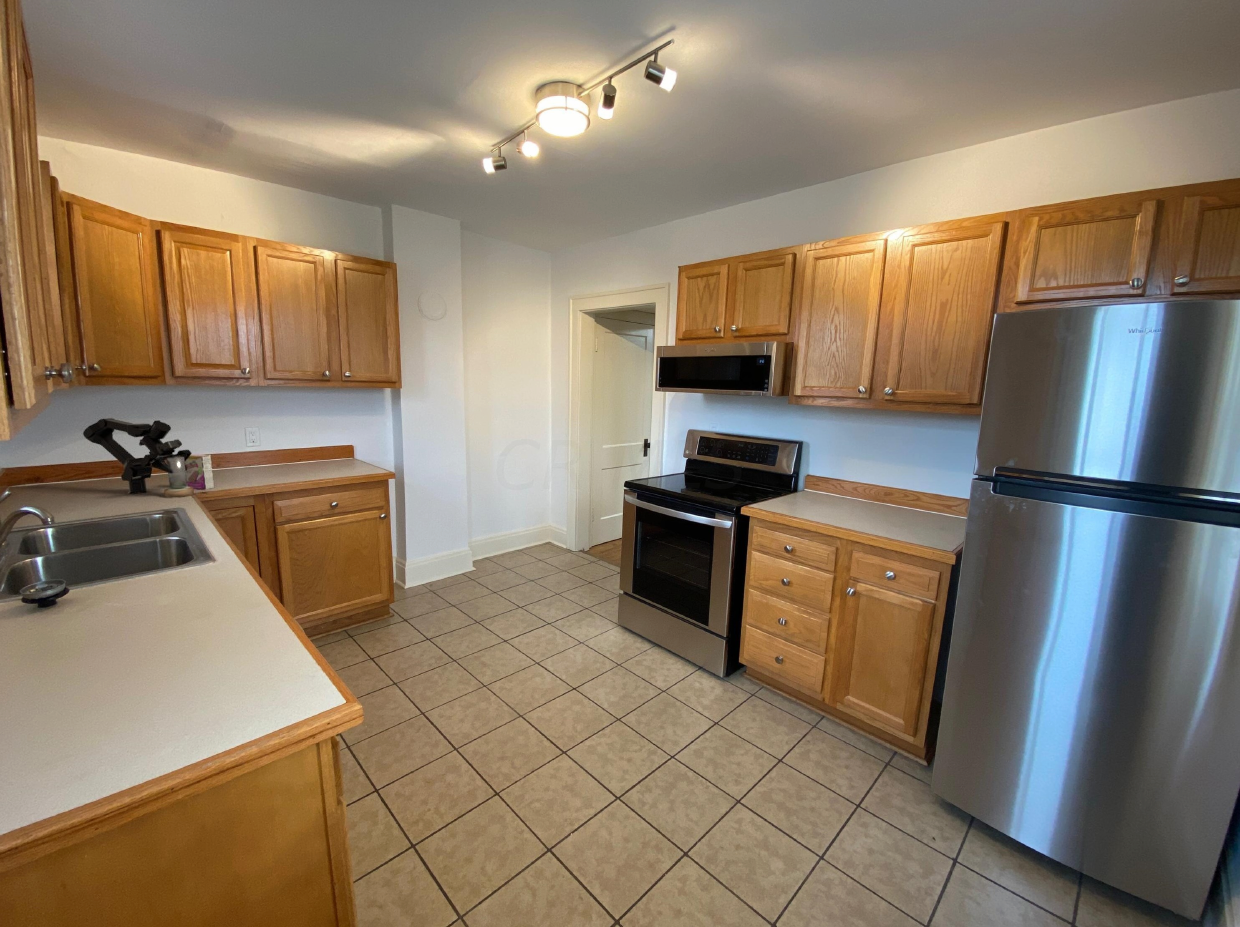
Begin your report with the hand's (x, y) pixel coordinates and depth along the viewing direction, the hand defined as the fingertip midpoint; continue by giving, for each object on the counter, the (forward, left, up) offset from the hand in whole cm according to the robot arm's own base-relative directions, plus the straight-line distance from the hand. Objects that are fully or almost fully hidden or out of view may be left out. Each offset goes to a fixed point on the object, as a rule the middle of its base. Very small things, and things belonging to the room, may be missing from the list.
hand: (179, 471), depth 227 cm
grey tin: (-1, -1, -7) cm, 7 cm away
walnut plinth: (-1, -1, -11) cm, 11 cm away
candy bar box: (-15, +5, -11) cm, 19 cm away
